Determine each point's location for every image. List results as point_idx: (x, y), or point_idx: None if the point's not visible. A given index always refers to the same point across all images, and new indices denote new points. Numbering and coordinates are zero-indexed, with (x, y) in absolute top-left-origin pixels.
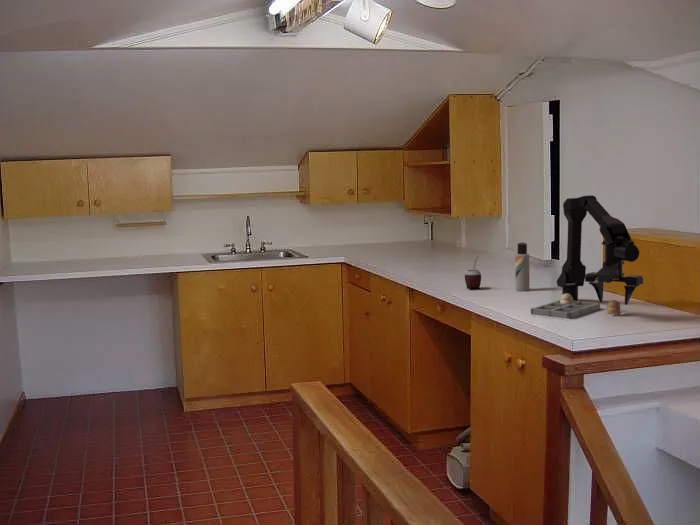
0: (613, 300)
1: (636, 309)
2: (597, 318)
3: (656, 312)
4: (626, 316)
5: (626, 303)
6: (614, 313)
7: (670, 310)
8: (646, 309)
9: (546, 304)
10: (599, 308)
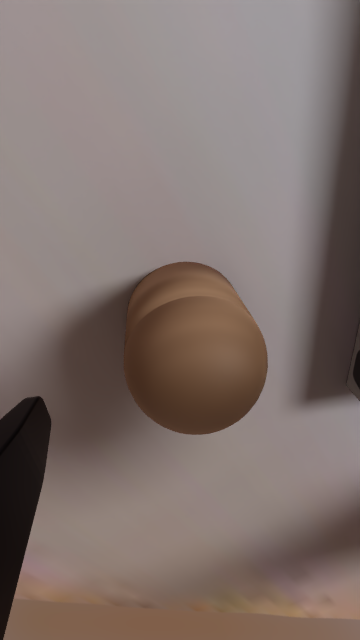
0: (204, 402)
1: (169, 517)
2: (218, 25)
3: None
4: (63, 329)
5: (15, 410)
6: (146, 284)
7: (20, 580)
8: (127, 540)
9: None
10: (357, 388)
